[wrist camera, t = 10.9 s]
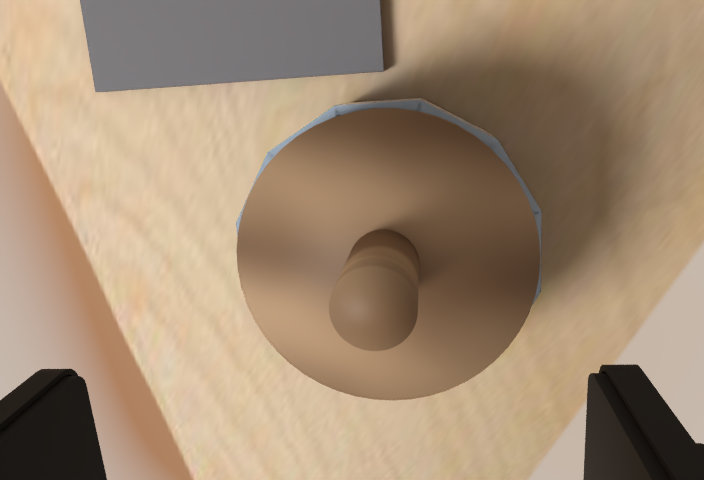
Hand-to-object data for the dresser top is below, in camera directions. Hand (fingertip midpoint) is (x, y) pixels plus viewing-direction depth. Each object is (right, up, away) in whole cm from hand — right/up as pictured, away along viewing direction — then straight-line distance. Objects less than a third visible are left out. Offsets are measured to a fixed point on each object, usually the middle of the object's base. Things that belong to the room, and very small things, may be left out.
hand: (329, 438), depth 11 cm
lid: (+2, +3, +13) cm, 14 cm away
